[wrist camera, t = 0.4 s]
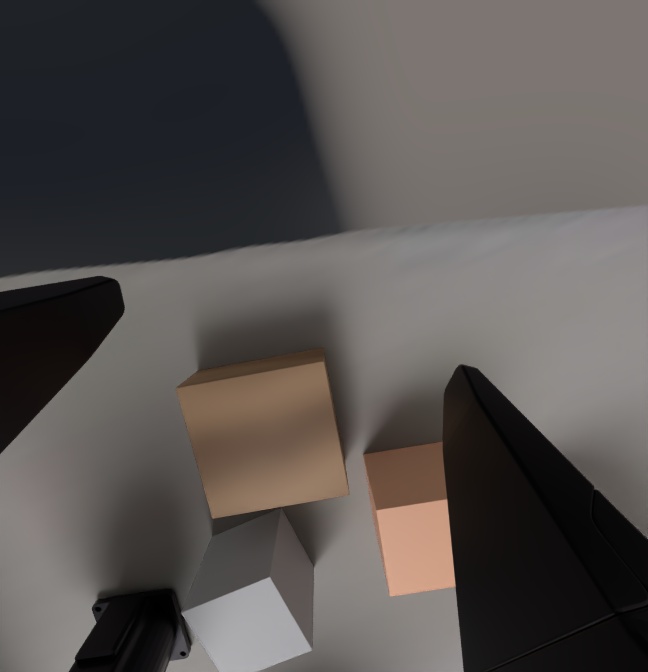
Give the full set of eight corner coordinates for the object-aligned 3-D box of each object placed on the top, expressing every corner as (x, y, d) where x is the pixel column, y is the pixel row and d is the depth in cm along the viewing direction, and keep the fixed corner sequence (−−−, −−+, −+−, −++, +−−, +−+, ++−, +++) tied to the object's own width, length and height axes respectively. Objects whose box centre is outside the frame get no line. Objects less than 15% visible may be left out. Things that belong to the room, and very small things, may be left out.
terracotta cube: (450, 510, 26) (488, 581, 20) (374, 522, 26) (389, 596, 20) (442, 440, 25) (480, 494, 19) (362, 453, 25) (376, 510, 19)
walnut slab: (344, 460, 25) (349, 494, 21) (229, 480, 25) (212, 518, 21) (323, 346, 23) (323, 361, 19) (199, 369, 24) (175, 388, 20)
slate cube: (314, 566, 26) (312, 650, 21) (247, 593, 27) (227, 682, 21) (281, 506, 25) (269, 577, 20) (212, 535, 26) (180, 612, 20)
